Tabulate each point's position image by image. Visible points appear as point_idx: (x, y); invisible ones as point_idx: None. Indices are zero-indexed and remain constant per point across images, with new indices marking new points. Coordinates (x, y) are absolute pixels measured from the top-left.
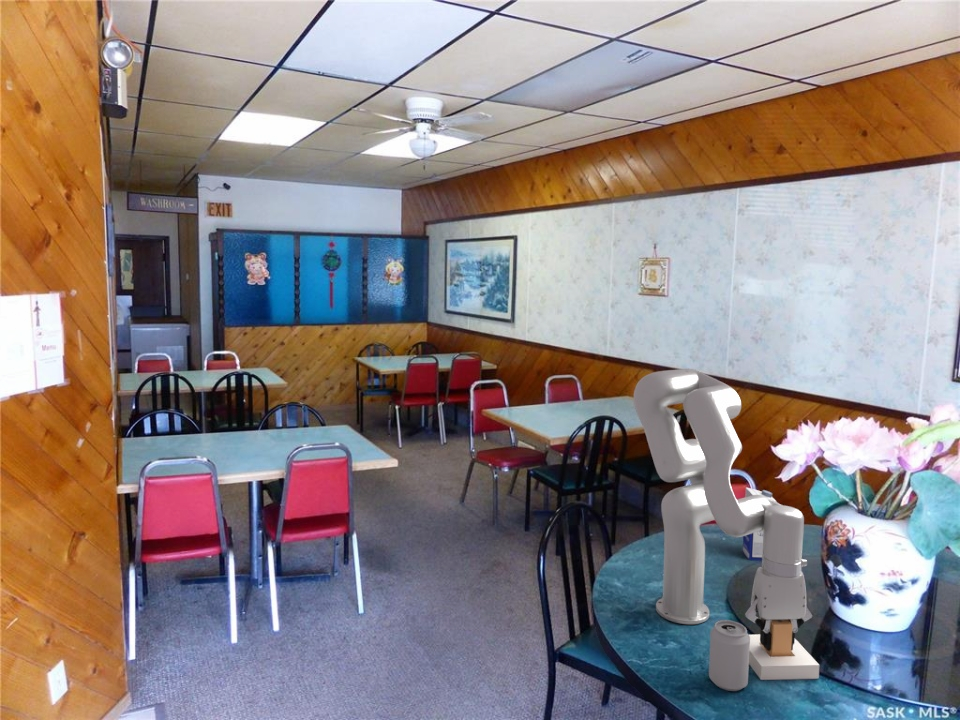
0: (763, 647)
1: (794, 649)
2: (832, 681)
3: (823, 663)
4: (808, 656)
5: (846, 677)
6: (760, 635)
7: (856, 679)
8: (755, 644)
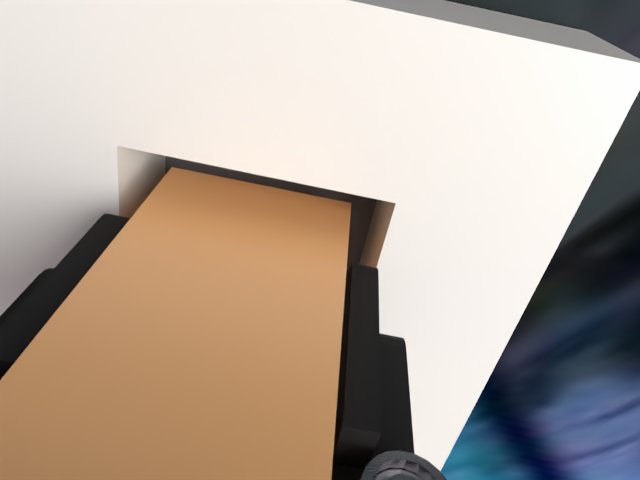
0: (162, 180)
1: (407, 324)
2: (479, 436)
3: (613, 307)
4: (442, 414)
5: (598, 434)
6: (7, 316)
7: (634, 456)
8: (67, 166)
